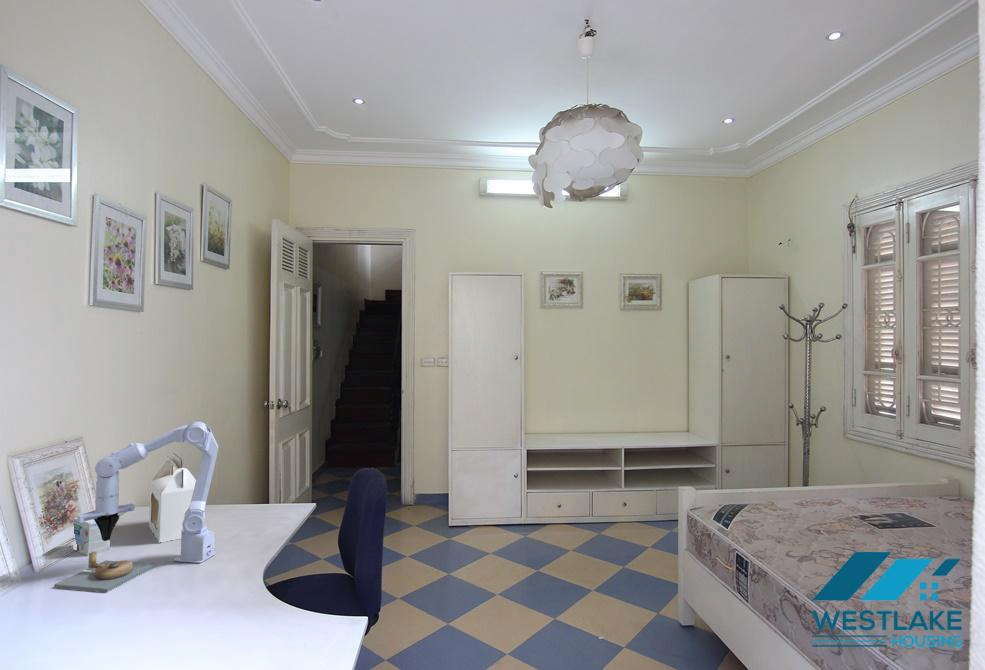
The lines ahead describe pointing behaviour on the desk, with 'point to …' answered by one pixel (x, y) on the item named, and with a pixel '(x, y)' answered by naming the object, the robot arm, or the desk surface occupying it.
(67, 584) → the base plate
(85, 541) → the light bulb box
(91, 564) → the dial
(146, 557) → the desk surface
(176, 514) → the gable box
